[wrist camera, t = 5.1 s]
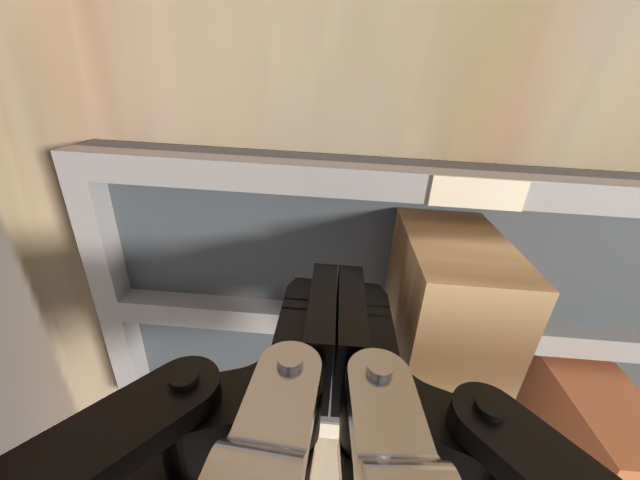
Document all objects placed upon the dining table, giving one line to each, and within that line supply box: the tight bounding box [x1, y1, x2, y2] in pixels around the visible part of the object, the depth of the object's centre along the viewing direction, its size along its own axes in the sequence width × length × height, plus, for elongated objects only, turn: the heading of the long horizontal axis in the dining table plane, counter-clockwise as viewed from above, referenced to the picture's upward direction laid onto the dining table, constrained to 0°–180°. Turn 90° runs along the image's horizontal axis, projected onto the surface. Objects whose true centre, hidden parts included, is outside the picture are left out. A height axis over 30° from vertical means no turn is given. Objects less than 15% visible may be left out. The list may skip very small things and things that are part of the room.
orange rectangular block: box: [516, 355, 640, 480], centre depth 13 cm, size 4×3×5 cm
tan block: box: [384, 208, 560, 399], centre depth 11 cm, size 4×3×5 cm
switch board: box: [50, 139, 640, 439], centre depth 15 cm, size 13×26×2 cm, turn 87°
